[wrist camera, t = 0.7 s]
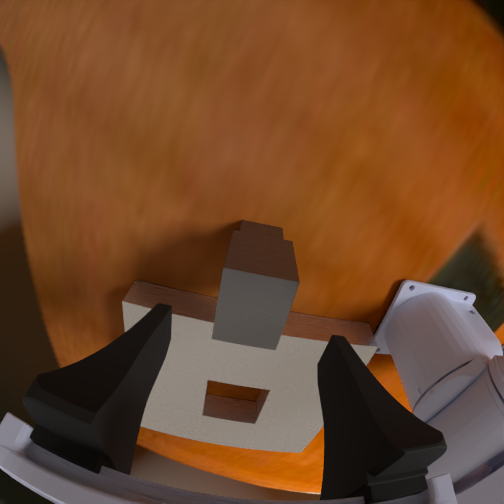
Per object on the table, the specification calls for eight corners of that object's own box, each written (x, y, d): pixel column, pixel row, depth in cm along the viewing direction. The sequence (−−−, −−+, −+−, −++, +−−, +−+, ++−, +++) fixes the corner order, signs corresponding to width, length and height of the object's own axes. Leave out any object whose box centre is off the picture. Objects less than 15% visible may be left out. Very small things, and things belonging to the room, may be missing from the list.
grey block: (288, 223, 20) (299, 282, 13) (273, 278, 22) (275, 350, 15) (238, 212, 20) (223, 267, 13) (227, 269, 22) (211, 339, 15)
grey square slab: (368, 323, 24) (378, 347, 21) (300, 433, 32) (300, 452, 30) (136, 280, 23) (122, 301, 20) (146, 407, 32) (140, 426, 29)
